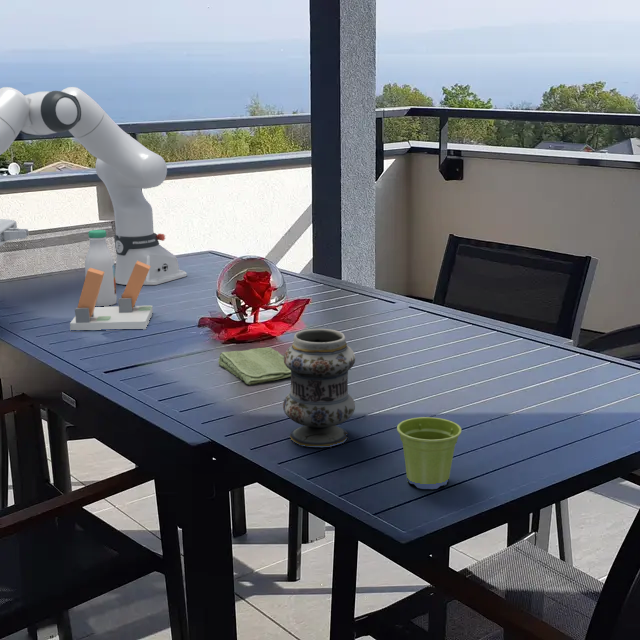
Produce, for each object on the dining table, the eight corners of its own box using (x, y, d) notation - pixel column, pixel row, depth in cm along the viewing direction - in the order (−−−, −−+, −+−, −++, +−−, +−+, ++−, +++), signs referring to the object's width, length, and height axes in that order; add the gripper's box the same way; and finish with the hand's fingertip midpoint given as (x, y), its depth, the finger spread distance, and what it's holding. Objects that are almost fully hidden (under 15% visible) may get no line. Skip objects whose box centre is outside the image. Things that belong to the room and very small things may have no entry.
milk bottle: (113, 307, 242) (108, 233, 236) (84, 307, 242) (78, 233, 237) (120, 300, 249) (115, 228, 244) (92, 300, 249) (86, 228, 244)
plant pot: (396, 468, 141) (397, 415, 138) (457, 470, 140) (459, 417, 138) (395, 494, 132) (396, 439, 129) (461, 497, 131) (463, 440, 129)
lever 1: (78, 311, 223) (90, 267, 221) (92, 316, 224) (104, 271, 221) (74, 316, 219) (87, 270, 217) (89, 320, 220) (102, 275, 217)
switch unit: (82, 314, 234) (80, 294, 233) (152, 313, 235) (151, 292, 234) (70, 331, 219) (68, 309, 217) (145, 329, 220) (144, 307, 219)
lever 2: (120, 301, 233) (137, 260, 230) (133, 306, 233) (150, 265, 231) (118, 305, 229) (135, 263, 226) (131, 310, 229) (149, 269, 227)
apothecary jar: (359, 450, 148) (359, 343, 143) (285, 453, 147) (283, 346, 142) (350, 423, 159) (350, 324, 155) (282, 425, 158) (280, 326, 154)
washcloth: (247, 389, 178) (246, 373, 178) (214, 365, 194) (214, 350, 193) (306, 379, 184) (306, 364, 183) (270, 356, 199) (270, 342, 198)
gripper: (-48, 229, 204) (14, 227, 205) (-22, 215, 224) (35, 213, 224) (-45, 257, 206) (18, 255, 207) (-19, 240, 225) (38, 238, 226)
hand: (27, 233), depth 216 cm, fingers closed
